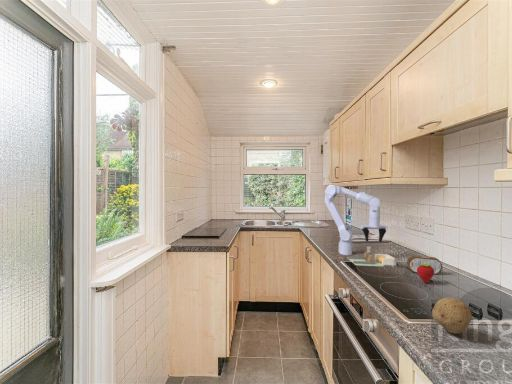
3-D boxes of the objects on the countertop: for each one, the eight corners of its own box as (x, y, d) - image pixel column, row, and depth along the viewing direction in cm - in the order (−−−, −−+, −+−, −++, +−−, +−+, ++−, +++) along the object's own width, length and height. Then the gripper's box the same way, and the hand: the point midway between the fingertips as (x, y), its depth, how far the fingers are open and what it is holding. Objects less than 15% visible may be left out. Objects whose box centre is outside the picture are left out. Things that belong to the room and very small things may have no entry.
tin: (440, 274, 135) (441, 257, 135) (442, 276, 132) (443, 258, 132) (406, 270, 139) (407, 254, 139) (408, 272, 136) (408, 255, 136)
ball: (384, 263, 151) (376, 262, 151) (384, 256, 151) (377, 255, 151) (387, 265, 147) (379, 264, 147) (387, 258, 147) (380, 257, 147)
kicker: (363, 259, 154) (364, 244, 153) (368, 259, 153) (368, 245, 153) (369, 263, 146) (369, 248, 145) (373, 263, 145) (374, 248, 145)
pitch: (346, 259, 158) (346, 251, 158) (385, 260, 157) (385, 253, 157) (355, 267, 142) (355, 258, 142) (398, 269, 141) (399, 260, 141)
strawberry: (412, 281, 123) (413, 259, 123) (425, 280, 125) (426, 258, 125) (424, 286, 117) (425, 262, 117) (437, 284, 119) (438, 261, 119)
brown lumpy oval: (438, 338, 75) (440, 302, 75) (426, 322, 84) (427, 290, 84) (477, 343, 73) (478, 306, 73) (460, 327, 82) (461, 294, 82)
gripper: (364, 218, 156) (363, 242, 156) (390, 219, 156) (389, 243, 156) (360, 217, 163) (359, 239, 163) (384, 217, 163) (384, 240, 163)
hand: (373, 241), depth 160 cm, fingers open, 7 cm apart
